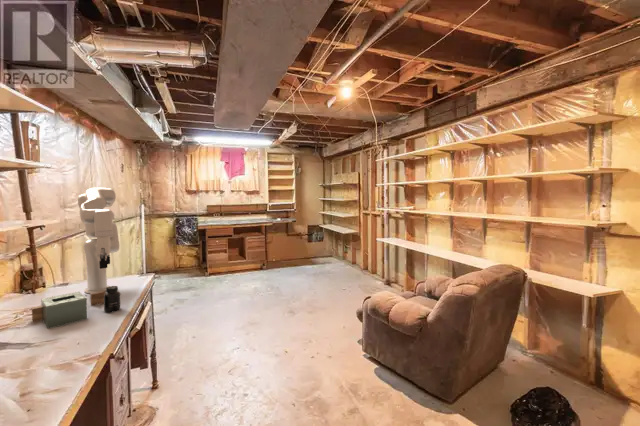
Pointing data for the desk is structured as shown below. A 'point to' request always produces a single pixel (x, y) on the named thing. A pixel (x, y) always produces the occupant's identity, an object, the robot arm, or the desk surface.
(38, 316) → the token
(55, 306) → the box
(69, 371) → the desk surface
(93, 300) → the block
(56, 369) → the desk surface
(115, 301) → the supplement bottle
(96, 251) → the robot arm
